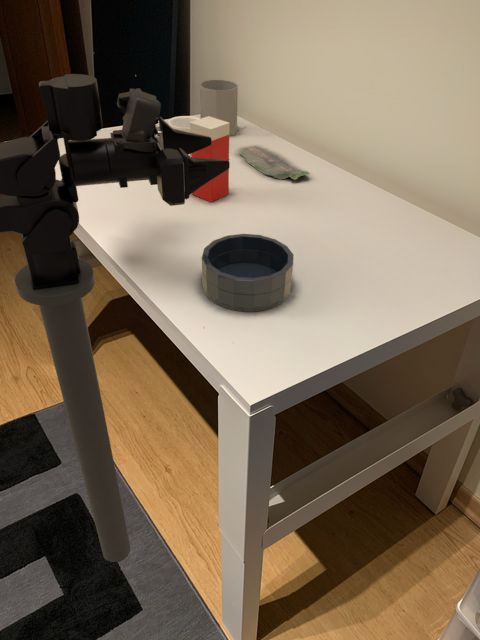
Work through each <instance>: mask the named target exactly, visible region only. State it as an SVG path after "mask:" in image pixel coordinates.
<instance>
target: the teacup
mask: <svg viewBox="0 0 480 640" xmlns="http://www.w3.org/2000/svg"><path fill="white" fill-rule="evenodd" d="M199 119H201V117H197V116H190V115H179V116H174V117H171V118H169V120H168V121H167V124H168V125H169V126H170V127H172V128H173V129H176V130H180V131H185V132H189V133H190V122H192V121H196V120H199Z"/></svg>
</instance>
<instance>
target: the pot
mask: <svg viewBox="0 0 480 640" xmlns="http://www.w3.org/2000/svg"><path fill="white" fill-rule="evenodd" d="M202 251H203V252H202V255H201V282H202V289H203V291H204V293H205V295H206V297H207V298H208V299H209V300H210V301H211V302H213V303H214V304H216V305H217V306H220V307H222V308H224V309H227V310H231V311H237V312H247V313H249V312H251V313H252V312H262V311H266V310H270V309H274V308H276V307H278V306H279V305H281V304H283V302H285V301H286V300H287V299H288V297H289V296H290V293H291V290H292V283H293V270H294V253H293V252H292V251H291V249H290V248H289V246H287V245H286V244H284V243H283V242H281V241H279V240H277V239H275V238H272V237H269V236H266V235H263V234H253V233H239V234H238V233H237V234H230V235H225V236H222V237H220V238H217V239H214V240H212V241H211V242H210V243H209V244H208V245H206V246H205V247H204V249H203V250H202Z"/></svg>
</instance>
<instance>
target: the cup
mask: <svg viewBox="0 0 480 640" xmlns="http://www.w3.org/2000/svg"><path fill="white" fill-rule="evenodd" d="M238 89H239V84H237V83H236V82H234V81H231V80H224V79H209V80H204V81H201V82H200V83H199V109H200V111H199V113H200V115H199V116H200V119H202V118H205V117H208V116H210V117H213V118H216V119H219V120H222V121H226V122H229V137H232V136H234V135H236V134H237V131H238V97H239V96H238V95H239V93H238Z"/></svg>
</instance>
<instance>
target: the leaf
mask: <svg viewBox="0 0 480 640" xmlns="http://www.w3.org/2000/svg"><path fill="white" fill-rule="evenodd" d="M239 156H241V157H243V158H244V159H245V162H246V163H247V164H249V165H250V166H251V167H253V168H254V169H256V170H257V171H258V172H260V173H262V174H263V175H265V176H270V177H273V178H274V179H275V178H276V179H278V180H284V179H287V178H290V179H292V180H297V179H298V178H300V177H302V176H307V175H311V173H310V172H309V171H307V170H301V169H297V168H296V167H294V166H292V165H289V164H288V163H287V162H286V161H285V160H284V159H282V158H280V157H279V156H278V155H275V154H274V153H272V152H271V151H268V150H266V149H264V148H260V147H257V146H248V147H246V148H243V149H242V150H241V153H240V154H239Z"/></svg>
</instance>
